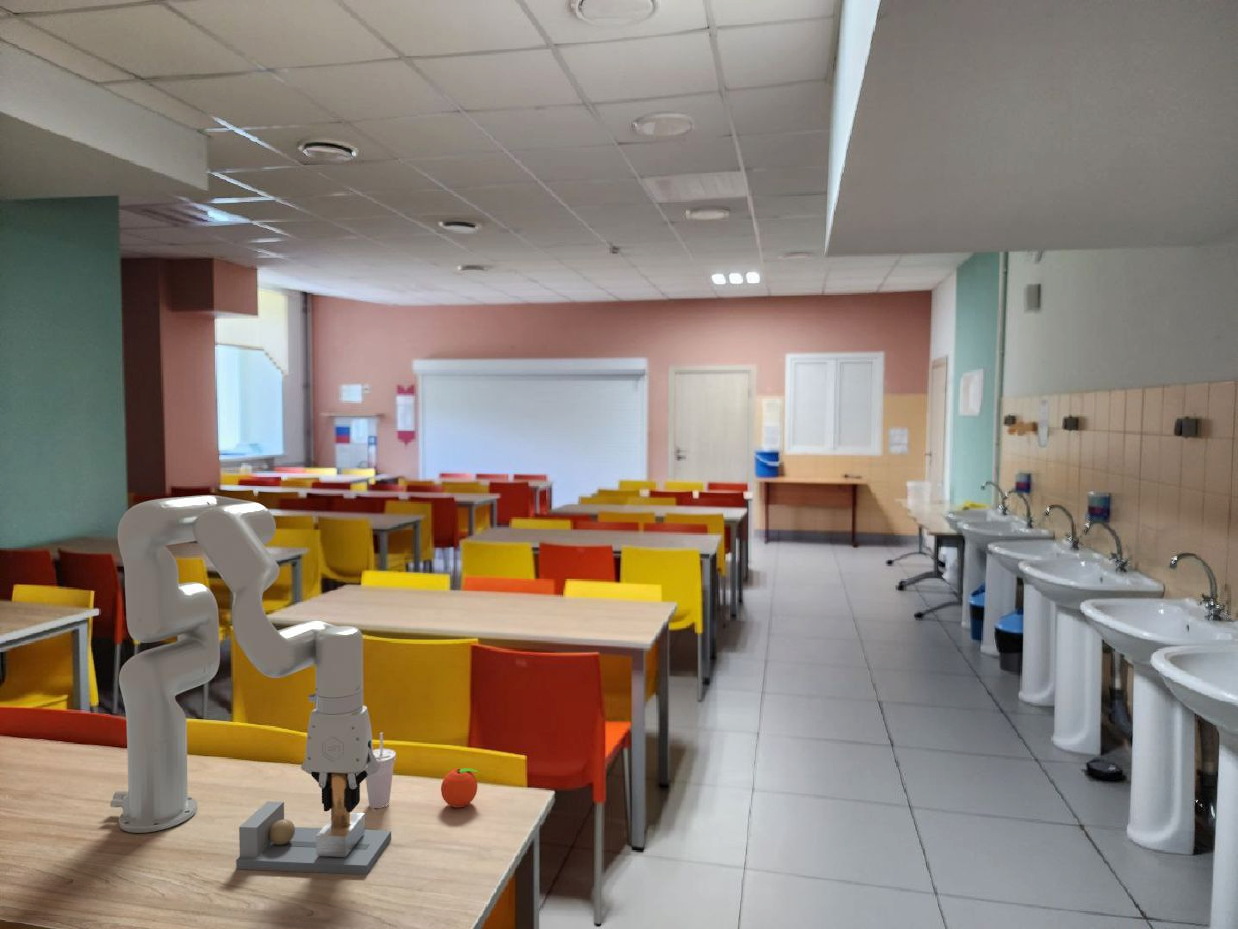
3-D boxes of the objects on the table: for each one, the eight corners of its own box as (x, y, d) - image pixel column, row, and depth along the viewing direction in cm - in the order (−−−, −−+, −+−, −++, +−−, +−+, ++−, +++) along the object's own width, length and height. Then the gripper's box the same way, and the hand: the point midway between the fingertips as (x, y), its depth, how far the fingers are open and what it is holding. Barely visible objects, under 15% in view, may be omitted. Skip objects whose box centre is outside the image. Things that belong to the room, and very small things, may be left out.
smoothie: (386, 814, 146) (385, 740, 145) (355, 810, 147) (354, 738, 147) (402, 798, 152) (401, 728, 152) (372, 795, 154) (371, 725, 153)
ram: (316, 855, 128) (315, 766, 127) (337, 831, 136) (336, 747, 135) (345, 857, 128) (344, 767, 127) (365, 832, 136) (364, 747, 135)
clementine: (477, 793, 155) (477, 758, 154) (487, 808, 148) (487, 772, 148) (437, 801, 151) (437, 765, 151) (445, 817, 145) (445, 779, 145)
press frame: (236, 868, 127) (235, 830, 127) (270, 834, 138) (270, 798, 138) (366, 874, 126) (366, 835, 126) (391, 839, 137) (390, 803, 137)
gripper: (281, 708, 128) (283, 817, 128) (379, 710, 127) (380, 821, 127) (303, 692, 135) (304, 796, 136) (395, 695, 134) (396, 799, 135)
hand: (341, 807), depth 132 cm, fingers closed on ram, 3 cm apart
